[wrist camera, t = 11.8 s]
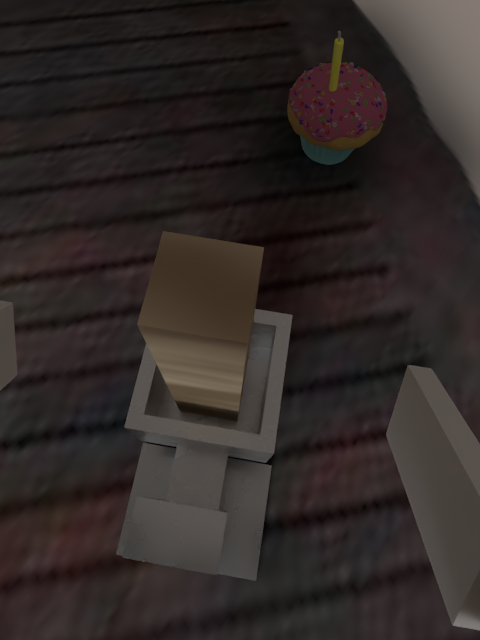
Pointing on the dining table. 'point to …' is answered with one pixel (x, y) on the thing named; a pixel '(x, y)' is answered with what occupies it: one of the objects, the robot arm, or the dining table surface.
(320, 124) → the cupcake
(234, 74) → the dining table surface
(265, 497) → the bracket
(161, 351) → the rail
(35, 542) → the dining table surface
